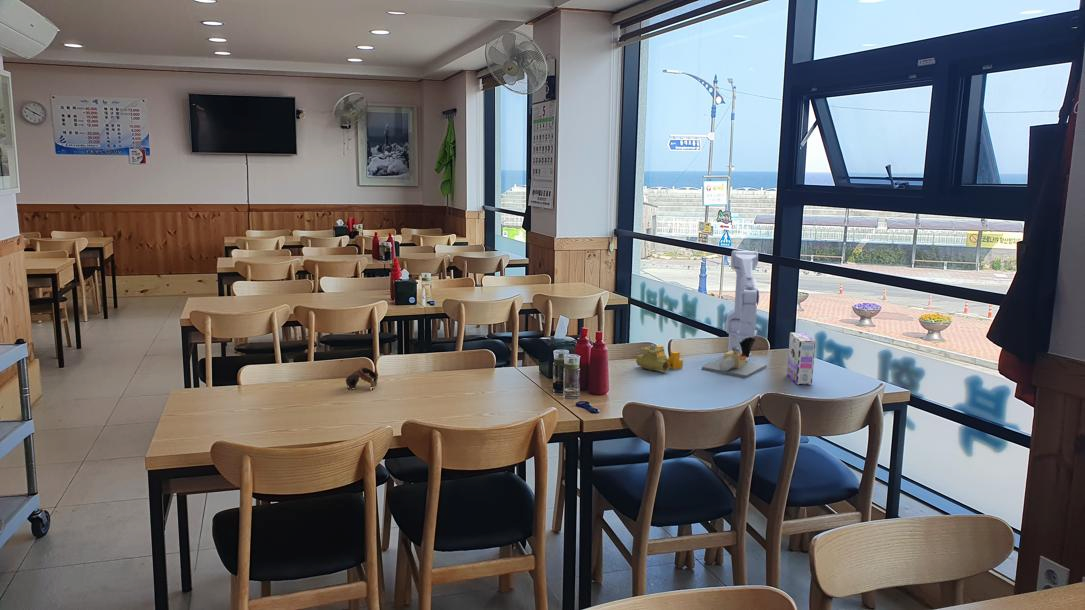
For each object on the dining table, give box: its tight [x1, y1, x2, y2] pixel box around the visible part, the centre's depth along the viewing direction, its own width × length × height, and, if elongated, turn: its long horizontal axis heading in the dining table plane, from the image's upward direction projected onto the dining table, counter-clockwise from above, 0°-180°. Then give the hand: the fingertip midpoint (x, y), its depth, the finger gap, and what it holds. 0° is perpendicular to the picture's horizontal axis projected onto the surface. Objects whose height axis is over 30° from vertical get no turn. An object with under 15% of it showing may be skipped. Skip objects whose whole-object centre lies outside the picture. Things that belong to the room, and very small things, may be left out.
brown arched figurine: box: [345, 366, 379, 389], centre depth 282 cm, size 12×10×8 cm
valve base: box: [701, 350, 767, 379], centre depth 314 cm, size 19×18×7 cm
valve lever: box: [732, 347, 746, 360], centre depth 308 cm, size 14×3×1 cm, turn 179°
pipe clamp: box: [655, 345, 684, 370], centre depth 318 cm, size 12×4×6 cm, turn 29°
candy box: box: [786, 332, 817, 386], centre depth 299 cm, size 14×6×16 cm, turn 178°
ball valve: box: [635, 343, 670, 373], centre depth 311 cm, size 13×10×10 cm
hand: (745, 356), depth 305 cm, fingers closed, pressing on valve lever
